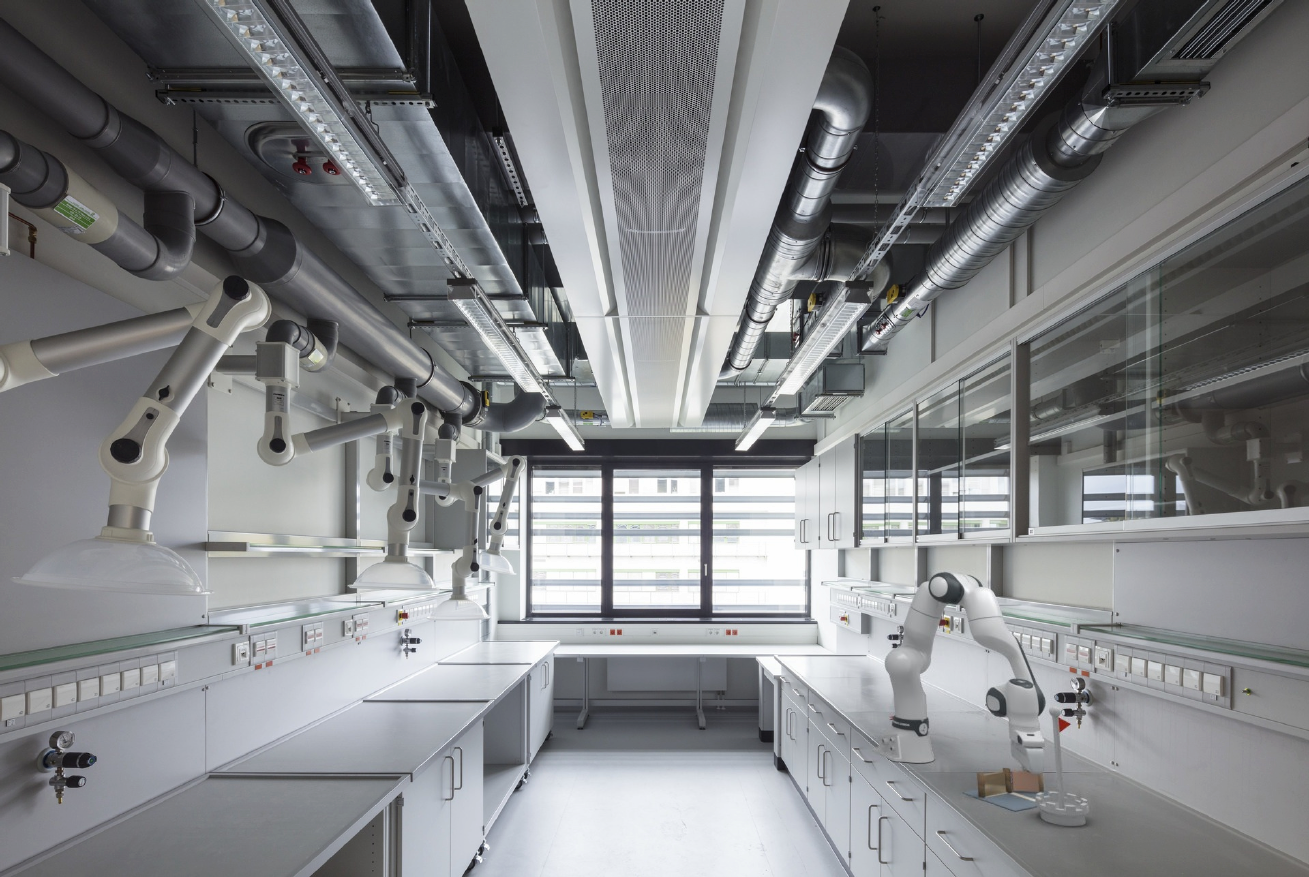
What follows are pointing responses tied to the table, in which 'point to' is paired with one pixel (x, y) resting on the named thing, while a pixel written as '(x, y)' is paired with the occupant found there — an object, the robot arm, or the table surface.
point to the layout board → (1010, 799)
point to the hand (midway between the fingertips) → (1028, 780)
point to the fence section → (1027, 781)
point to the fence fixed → (994, 783)
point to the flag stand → (1061, 788)
